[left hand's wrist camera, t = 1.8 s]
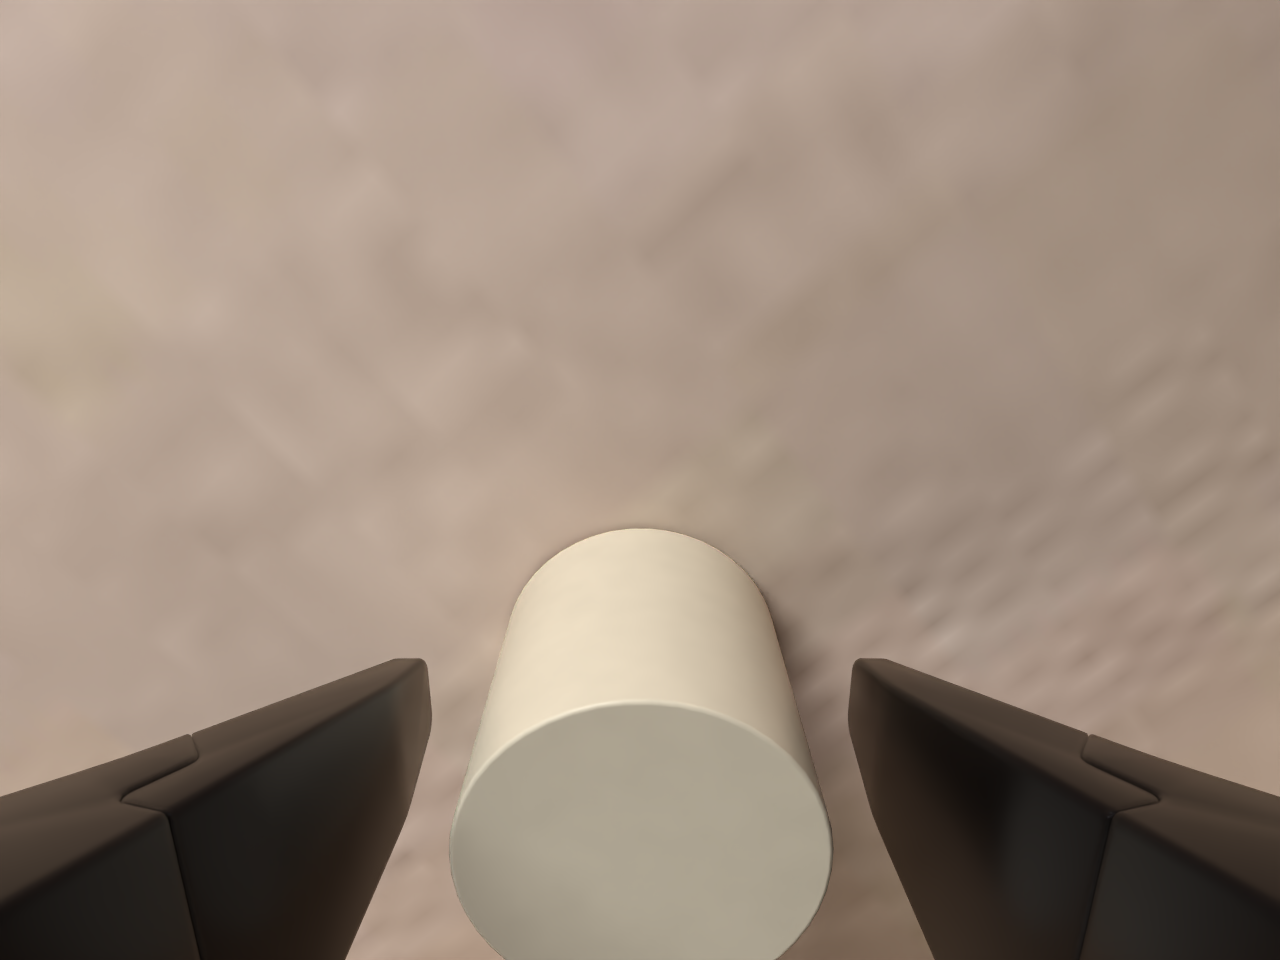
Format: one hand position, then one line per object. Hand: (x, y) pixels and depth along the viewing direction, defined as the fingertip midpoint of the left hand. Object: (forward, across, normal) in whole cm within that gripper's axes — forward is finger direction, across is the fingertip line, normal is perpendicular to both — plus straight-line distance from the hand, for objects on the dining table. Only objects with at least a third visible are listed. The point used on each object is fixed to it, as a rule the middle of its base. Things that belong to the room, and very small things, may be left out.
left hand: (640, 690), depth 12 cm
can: (+1, 0, 0) cm, 1 cm away
